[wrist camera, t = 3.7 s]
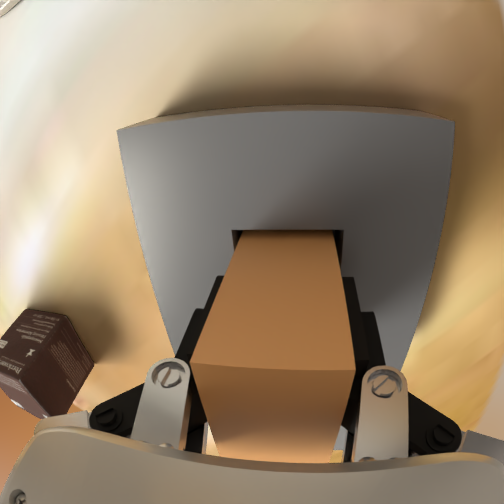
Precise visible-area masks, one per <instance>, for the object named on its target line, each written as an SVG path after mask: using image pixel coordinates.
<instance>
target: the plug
mask: <svg viewBox="0 0 504 504" xmlns="http://www.w3.org/2000/svg"><path fill="white" fill-rule="evenodd" d="M190 365H191V369H192V372H193V376H194V379H195V382H196V386H197V389H198V392H199V395H200V399H201V402H202V405H203V408H204V411H205V414H206V417H207V420H208V423H209V426H210V429H211V432H212V435H213V438H214V441H215V444H216V447H217V449H218V452H219V455H220V457H227V458H235V459H244V460H255V461H268V462H286V463H329V461H330V458H331V455H332V452H333V449H334V446H335V442H336V439H337V436H338V433H339V430H340V426H341V423H342V420H343V416H344V413H345V409H346V406H347V402H348V398H349V395H350V391H351V387H352V383H353V379H354V375H355V371H356V368H355V360H354V352H353V345H352V338H351V331H350V324H349V318H348V312H347V305H346V299H345V294H344V288H343V282H342V277H341V271H340V266H339V261H338V256H337V251H336V246H335V241H334V236H333V231H332V230H243V232H242V234H241V237H240V239H239V242H238V244H237V246H236V249H235V251H234V254H233V256H232V259H231V261H230V263H229V266H228V268H227V271H226V273H225V276H224V278H223V280H222V283H221V285H220V288H219V290H218V293H217V295H216V298H215V300H214V303H213V305H212V308H211V310H210V312H209V315H208V317H207V320H206V322H205V325H204V327H203V330H202V332H201V335H200V337H199V340H198V342H197V345H196V347H195V350H194V352H193V355H192V357H191V360H190Z"/></svg>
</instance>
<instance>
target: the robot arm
mask: <svg viewBox="0 0 504 504" xmlns="http://www.w3.org/2000/svg"><path fill="white" fill-rule="evenodd" d="M19 1H20V0H0V17H1V16H3V15H4V14H6V13H7V12H8V11H9V10H10V9H11V8H13V7H14V6H15V5H16V4H17V3H18V2H19ZM223 278H224V276H223V275H218V276H217V277H216V279H215V282H214V284H213V287H212V289H211V292H210V294H209V297H208V299H207V302H206V304H205V307H204V309H202V308H197V309H195V311H194V313H193V315H192V317H191V320H190V322H189V324H188V327H187V329H186V331H185V334H184V336H183V339H182V341H181V343H180V346H179V348H178V351H177V353H176V355H175V358H166V359H163V360H160V361H158V362H156V363H155V364H154V365H153V366H152V367H151V368H150V369H149V371H148V373H147V377H146V380H145V383H143V384H141V385H139V386H137V387H135V388H133V389H131V390H129V391H126V392H124V393H122V394H120V395H118V396H116V397H114V398H111V399H109V400H107V401H105V402H103V403H101V404H99V405H98V406H96V407H95V408H94V409H93V410H92V412H91V413H88V412H87V410H86V411H81V412H76V413H71V414H65V415H59V416H54V417H47V418H44V419H42V420H41V421H39V422H38V424H37V425H36V427H35V430H34V436H33V437H32V438H31V440H30V441H29V442H28V443H27V445H26V446H25V448H24V449H23V451H22V453H21V454H20V456H19V458H18V459H17V461H16V463H15V465H14V467H13V469H12V471H11V473H10V475H9V477H8V479H7V481H6V484H5V486H4V488H3V491H2V493H1V496H0V504H504V441H502V440H499V439H496V438H492V437H489V436H486V435H482V434H479V433H476V432H473V431H470V430H467V431H466V432H463V431H461V430H460V428H459V426H458V425H457V424H456V423H455V422H454V421H453V420H451V419H450V418H448V417H446V416H445V415H443V414H442V413H440V412H439V411H437V410H435V409H434V408H432V407H431V406H429V405H428V404H426V403H425V402H423V401H422V400H420V399H418V398H417V397H415V396H414V395H412V394H411V393H409V392H408V387H407V381H406V378H405V376H404V375H403V373H401V372H400V371H399V370H398V369H396V368H394V367H391V366H386V363H385V358H384V353H383V349H382V344H381V339H380V334H379V330H378V326H377V321H376V317H375V314H374V312H373V311H370V312H361V309H360V304H359V299H358V294H357V290H356V285H355V280H354V277H342V282H343V288H344V294H345V299H346V305H347V312H348V318H349V324H350V331H351V338H352V345H353V352H354V360H355V368H356V371H355V375H354V379H353V383H352V387H351V391H350V395H349V398H348V402H347V406H346V409H345V413H344V416H343V420H342V423H341V426H343V427H344V428H345V429H346V435H345V442H344V449H343V455H342V461H341V463H286V462H268V461H255V460H244V459H235V458H227V457H219V456H212V455H206V444H207V433H208V420H207V417H206V414H205V411H204V408H203V405H202V402H201V399H200V395H199V392H198V389H197V386H196V382H195V379H194V376H193V372H192V369H191V365H190V360H191V357H192V355H193V352H194V350H195V347H196V345H197V342H198V340H199V337H200V335H201V332H202V330H203V327H204V325H205V322H206V320H207V317H208V315H209V312H210V310H211V308H212V305H213V303H214V300H215V298H216V295H217V293H218V290H219V288H220V285H221V283H222V280H223Z"/></svg>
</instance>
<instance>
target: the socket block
mask: <svg viewBox="0 0 504 504" xmlns="http://www.w3.org/2000/svg"><path fill="white" fill-rule="evenodd" d="M454 132H455V121H452V120H449V119H446V118H442V117H439V116H436V115H433V114H430V113H426V112H423V111H418V110H409V109H399V108H388V107H375V106H357V105H324V104H302V105H268V106H250V107H237V108H225V109H215V110H205V111H197V112H189V113H181V114H174V115H168V116H161V117H155V118H152V119H149V120H146V121H142V122H139V123H136V124H133V125H130V126H128V127H125V128H122V129H119V130H117V136H118V142H119V148H120V153H121V159H122V164H123V169H124V174H125V179H126V184H127V188H128V193H129V198H130V202H131V206H132V211H133V215H134V219H135V223H136V227H137V232H138V235H139V239H140V243H141V247H142V251H143V255H144V258H145V262H146V266H147V269H148V273H149V276H150V280H151V283H152V286H153V290H154V293H155V296H156V300H157V303H158V306H159V309H160V312H161V315H162V319H163V322H164V325H165V328H166V331H167V334H168V337H169V339H170V342H171V345H172V348H173V351H174V354H175V355H176V353H177V351H178V348H179V346H180V343H181V341H182V339H183V336H184V334H185V331H186V329H187V327H188V324H189V322H190V320H191V317H192V315H193V313H194V311H195V309H197V308H202V309H204V307H205V304H206V302H207V299H208V297H209V294H210V292H211V289H212V287H213V284H214V282H215V279H216V277H217V276H218V275H223V276H225V273H226V271H227V268H228V266H229V263H230V261H231V259H232V256H233V254H234V251H235V249H236V246H237V244H238V242H239V239H240V237H241V234H242V232H243V230H332V231H333V236H334V241H335V246H336V251H337V256H338V261H339V266H340V271H341V277H354V280H355V285H356V290H357V294H358V299H359V304H360V309H361V312H370V311H373V312H374V314H375V317H376V321H377V326H378V330H379V334H380V339H381V344H382V349H383V353H384V358H385V363H386V366H391V367H394V368H396V369H398V370H399V371H401V368H402V366H403V363H404V361H405V358H406V355H407V353H408V350H409V347H410V344H411V342H412V339H413V336H414V333H415V330H416V327H417V324H418V321H419V318H420V315H421V311H422V308H423V305H424V301H425V298H426V294H427V291H428V287H429V284H430V280H431V276H432V272H433V268H434V264H435V260H436V255H437V251H438V246H439V242H440V237H441V232H442V227H443V222H444V216H445V210H446V204H447V198H448V191H449V184H450V176H451V167H452V157H453V146H454Z"/></svg>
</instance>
